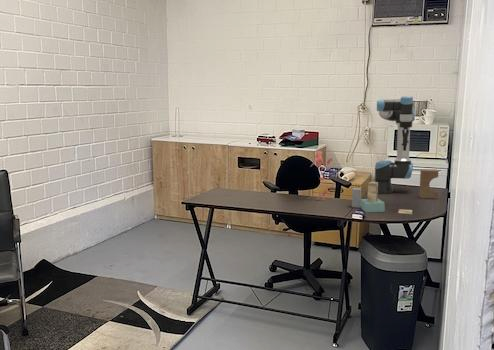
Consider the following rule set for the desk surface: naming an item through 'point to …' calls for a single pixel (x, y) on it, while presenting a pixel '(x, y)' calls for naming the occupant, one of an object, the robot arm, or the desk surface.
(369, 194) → the maple pillar
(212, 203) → the desk surface
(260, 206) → the desk surface
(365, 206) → the teal base block
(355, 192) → the slate-grey pillar
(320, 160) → the figurine
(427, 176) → the decorative block
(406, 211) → the maple swatch tile
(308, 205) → the desk surface
